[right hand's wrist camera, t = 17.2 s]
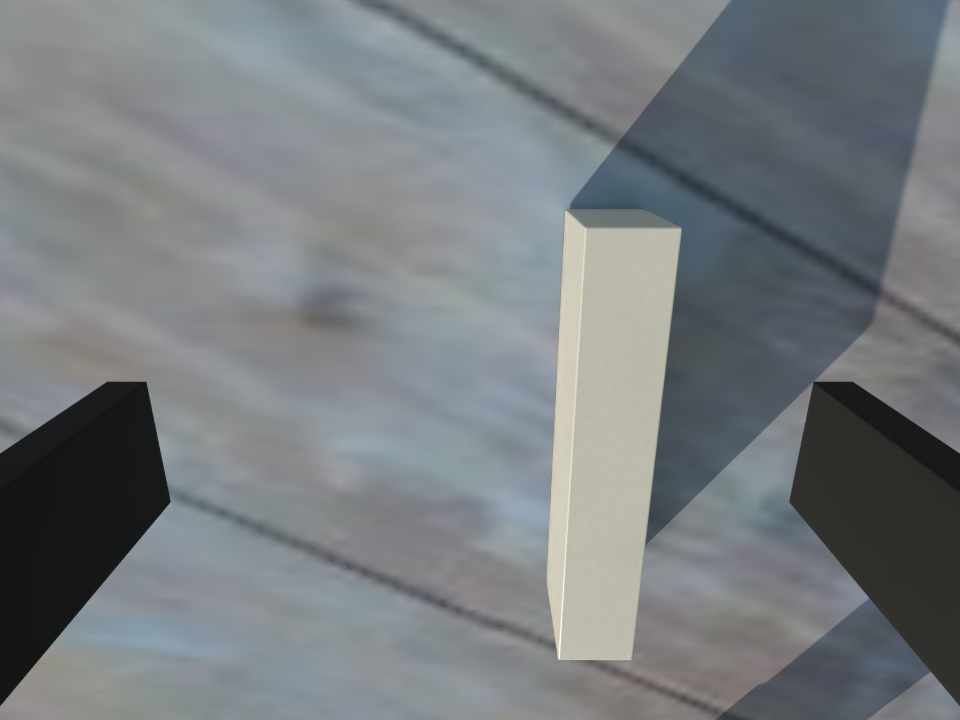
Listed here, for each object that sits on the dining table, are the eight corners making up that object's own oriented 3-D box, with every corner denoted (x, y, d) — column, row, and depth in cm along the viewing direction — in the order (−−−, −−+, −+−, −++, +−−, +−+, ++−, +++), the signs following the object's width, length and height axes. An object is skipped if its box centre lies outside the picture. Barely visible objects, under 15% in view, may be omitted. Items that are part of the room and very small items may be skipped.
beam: (565, 208, 35) (585, 226, 28) (644, 208, 35) (683, 227, 28) (546, 581, 44) (558, 660, 37) (609, 581, 44) (632, 660, 37)
